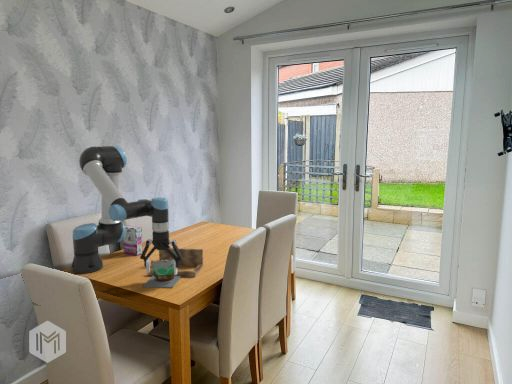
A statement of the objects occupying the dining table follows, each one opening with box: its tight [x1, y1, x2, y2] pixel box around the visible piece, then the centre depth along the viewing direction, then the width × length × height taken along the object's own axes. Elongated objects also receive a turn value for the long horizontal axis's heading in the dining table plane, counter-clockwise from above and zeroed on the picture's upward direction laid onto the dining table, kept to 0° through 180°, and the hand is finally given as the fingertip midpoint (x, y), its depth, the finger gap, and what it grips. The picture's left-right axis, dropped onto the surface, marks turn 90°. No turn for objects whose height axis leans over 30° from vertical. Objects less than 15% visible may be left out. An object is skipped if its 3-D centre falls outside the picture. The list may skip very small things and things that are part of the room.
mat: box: [142, 275, 182, 289], centre depth 172 cm, size 14×14×1 cm
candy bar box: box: [122, 225, 144, 256], centre depth 215 cm, size 11×5×16 cm, turn 62°
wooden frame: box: [147, 247, 204, 278], centre depth 187 cm, size 24×18×9 cm
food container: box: [150, 259, 175, 282], centre depth 171 cm, size 12×6×10 cm, turn 107°
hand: (162, 273), depth 171 cm, fingers open, 13 cm apart
